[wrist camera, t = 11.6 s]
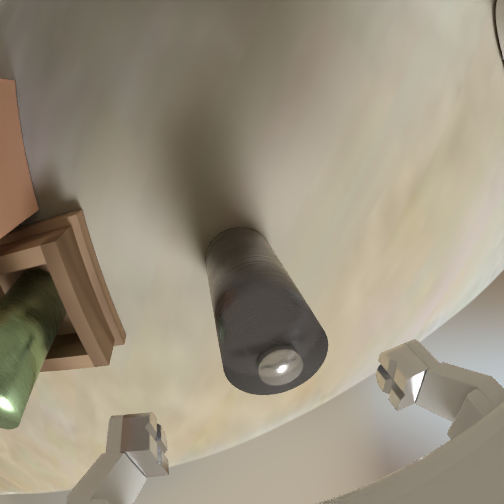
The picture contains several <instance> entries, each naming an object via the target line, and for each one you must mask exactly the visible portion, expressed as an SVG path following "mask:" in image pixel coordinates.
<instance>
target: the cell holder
mask: <svg viewBox="0 0 504 504" xmlns="http://www.w3.org/2000/svg"><path fill="white" fill-rule="evenodd" d="M30 269H40V270H44V271H46V272H48V273H50V274H51V276H52V279H53V281H54V284H55V286H56V289H57V291H58V293H59V296H60V298H61V300H62V303H63V305H64V307H65V309H66V312H67V314H66V316H65V318H64V320H63V322H62V324H61V326H60V328H59V330H58V332H57V334H56V337H55V339H54V341H53V343H52V345H51V347H50V349H49V352H48V354H47V356H46V358H45V360H44V363H43V365H42V367H41V370H40V372H45V371H58V370H69V369H80V368H89V367H98V366H107V365H109V363H110V358H111V354H112V350H113V346H116V345H123V344H124V343H125V338H126V334H125V331H124V329H123V327H122V324H121V322H120V319H119V317H118V314H117V312H116V309H115V307H114V304H113V302H112V299H111V297H110V294H109V291H108V289H107V286H106V283H105V280H104V278H103V275H102V272H101V269H100V266H99V263H98V260H97V257H96V254H95V251H94V248H93V245H92V242H91V238H90V235H89V232H88V229H87V225H86V222H85V218H84V215H83V211H82V210H78V211H74V212H71V213H67V214H64V215H60V216H57V217H53V218H50V219H46V220H43V221H40V222H36V223H33V224H30V225H26V226H23V227H20V228H17V229H14V230H11V231H10V232H9V233H7V234H6V235H5V236H3V237H2V238H1V239H0V299H1V298H2V297H3V295H4V294H5V293H6V292H7V291H8V289H9V288H10V287H11V286H12V285H13V284H14V282H15V281H16V280H17V279H18V278H19V277H20V275H21V274H22V273H23V272H25V271H27V270H30Z"/></svg>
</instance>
